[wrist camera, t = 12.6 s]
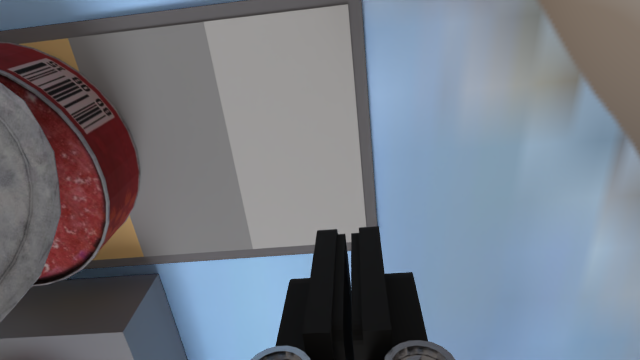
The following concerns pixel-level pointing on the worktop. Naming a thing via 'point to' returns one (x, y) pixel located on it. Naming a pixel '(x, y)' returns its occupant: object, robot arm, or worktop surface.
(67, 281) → the dome housing
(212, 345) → the worktop surface
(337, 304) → the robot arm
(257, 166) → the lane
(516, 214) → the worktop surface
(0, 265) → the canned food
